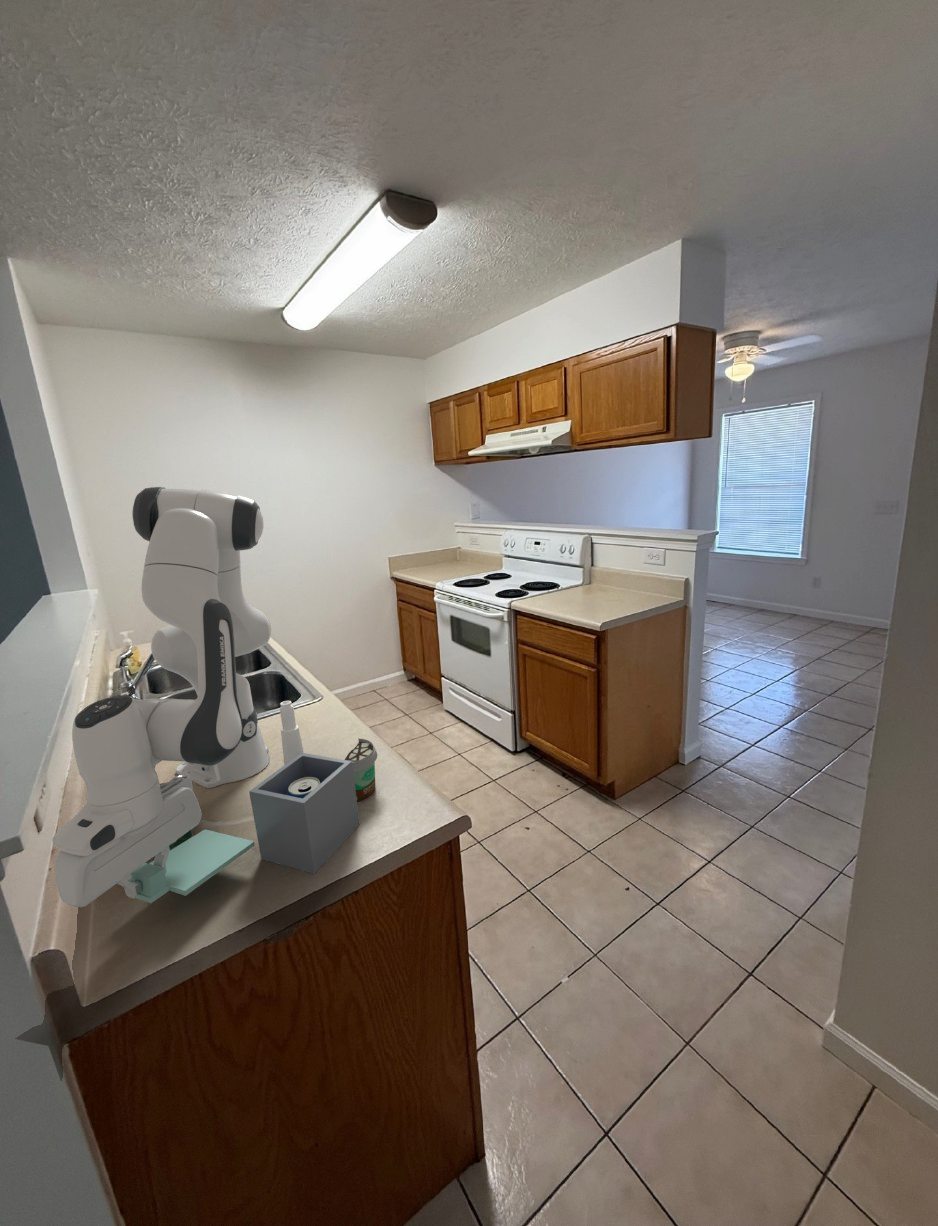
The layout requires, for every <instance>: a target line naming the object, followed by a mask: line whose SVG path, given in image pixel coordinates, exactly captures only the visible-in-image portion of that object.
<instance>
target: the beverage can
mask: <svg viewBox="0 0 938 1226" xmlns="http://www.w3.org/2000/svg"><path fill="white" fill-rule="evenodd" d="M319 784H321V783H320V781H319V780H318V779H317V778H314V777H305V778H301V779H298V780H296V781H294V782H293V783H292V784H291V785H290V786H289V788H288V790H289V791H288V793H287V795H288V796H293V797H297V798H302V799H303V798H304V797H306V796H307V795H308V794H309V793H310V792H311V791H312V790H314V789H315V788H316V787H317V786H318V785H319Z"/></svg>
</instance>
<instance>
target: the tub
mask: <svg viewBox="0 0 938 1226" xmlns="http://www.w3.org/2000/svg"><path fill="white" fill-rule="evenodd" d="M305 777H314V778H317V779H318V780H319V781H320V783H321V784H319V785H318V786H317V787H316V788H315V789H314V790H312V791H311V792H310V793H309V794H308V795H307V796H306V797H304V798H303V799H302V798H297V797H293V796H288V795H287V793H288V791H289V790H288V788H289V786H290V785H291V784H292V783H293V782H294V781H296V780H298V779H301V778H305ZM248 793H249V799H250V804H251V809H252V816H253V822H254V826H255V832H256V837H257V841H258V848H259V853H260V854H259V855H260V858H261V860H263V861H268V862H270V863H274V864H278V865H282V866H285V867H289V868H292V869H293V868H294V869H295V870H296V869H297V870H300V871H303V872H307V873H310V874H316V873H317V872H318V871H319V870H320V868H322V867H323V865H324V864H325V863H326V862H327V861H328V860H329V859H330V858H331V856H332V855H333V854H334V853H335V852H336V851H337V850H338V849H339V848H340V847H341V846H342V844H343V843H344V842H345V841H346V840H347V839H348V838H349V837H350V836H351V835H352V833H353V832H354V831H355V830H356V829H357V828H358V827H359V826H360V824H361V823H360V817H359V815H360V814H359V808H358V803H357V799H356V791H355V783H354V775H353V767H352V761H348V760H345V759H341V758H335V757H329V756H324V755H323V756H322V755H319V754H318V755H317V754H313V753H306V752H304V753H301V754H299V755H298V756H297V757H295V758H294V759H292V760H291V761H290V762H288V763H287V764H286V765H283V766H282V767H280V768H279V769H277V770H276V771H275V772H273V773H272V774H270V775H269V776H268V777H267V778H265V779H264V780H263V781H261V782H259V783H258V784H256V786H254V787H253V788H252V789H250V790H249V791H248Z"/></svg>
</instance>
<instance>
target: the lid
mask: <svg viewBox="0 0 938 1226" xmlns="http://www.w3.org/2000/svg"><path fill="white" fill-rule="evenodd" d="M254 847H255V841H254V840H251V839H248V838H247V839H246V838H241V837H238V836H234V835H231V834H226V833H221V832H219V831H218V832H216V831H214V830H209V829H206V828H204V829H203V830H201V831H200V832H198V833H196V834H195V835H193V837H191V838H190V839H188V840H187V841H185V842H183V843H182V844H180V845H178V846H177V847H175V848H174V849H172V850H170V852H169V855H168V858H167V861H166V864H165V865H166V870H167V873H165V868H162V867H158V866H155V865H153V864H154V860H153V861H151V862H149V863H148V862H146V863H144V864H143V865H141V866H140V867H139V868H137V869H136V870H135V871H133V872H132V873H131V876H132V878H131V879H130V880H128V881H129V882H131V881H132V880H136V882H137V881H139V882H141V884H142V887H141V888H143V891H142V892H141V893H140V894H139V895H137V896H136V897H135V898H134V899H138V900H140V901H143V902H145V903H146V902H147V903H149V904H152V903H154V902H155V901H156V900H158V899H160V898H161V897H162V896H164V895H165V894H166V893H168V892H173V893H176V894H179V895H182V896H188V895H189V894H190V893H192V892H193V891H194V890H196V889H197V888H198V887H200V886H201V885H203V884H204V883H205V882H207V881H208V880H209V879H211V878H213V877H214V876H216V874H218V873H219V872H220V871H222V870H224V869H225V868H226V867H228V865H230V864H231V863H233V862H234V861H236V860H237V859H238V858H240V857H241V856H242V855H244V854H246V853H247V852H248V851H250V850H251V849H252V848H254Z"/></svg>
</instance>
